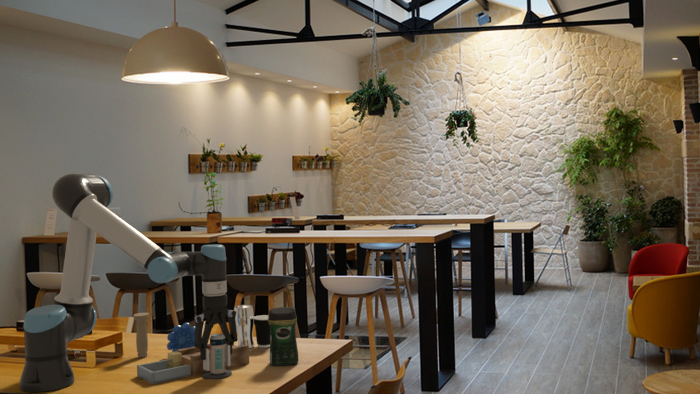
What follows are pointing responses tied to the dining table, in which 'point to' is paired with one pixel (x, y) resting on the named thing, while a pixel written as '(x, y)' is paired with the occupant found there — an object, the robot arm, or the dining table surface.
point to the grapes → (181, 337)
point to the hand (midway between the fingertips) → (217, 367)
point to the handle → (141, 334)
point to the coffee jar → (283, 336)
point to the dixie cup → (262, 331)
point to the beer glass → (245, 325)
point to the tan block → (175, 357)
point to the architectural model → (76, 351)
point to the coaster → (212, 376)
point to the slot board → (199, 364)
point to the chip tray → (161, 372)
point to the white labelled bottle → (217, 354)
